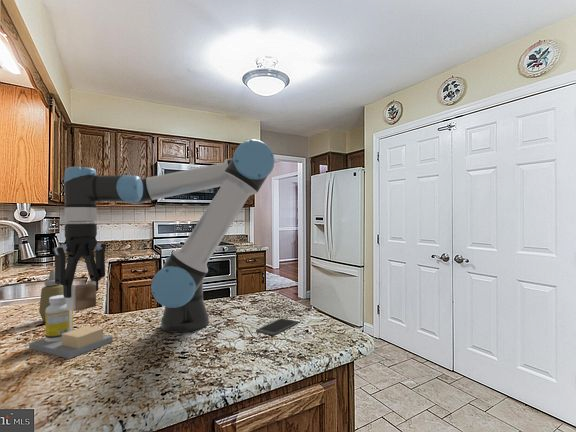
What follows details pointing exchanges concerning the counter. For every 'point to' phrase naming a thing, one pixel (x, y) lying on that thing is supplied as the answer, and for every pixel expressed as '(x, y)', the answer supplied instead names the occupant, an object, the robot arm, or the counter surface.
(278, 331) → the cell phone
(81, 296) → the walnut block
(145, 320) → the counter surface
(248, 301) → the counter surface
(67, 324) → the pill bottle
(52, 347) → the board
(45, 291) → the squeeze bottle
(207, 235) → the robot arm
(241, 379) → the counter surface
